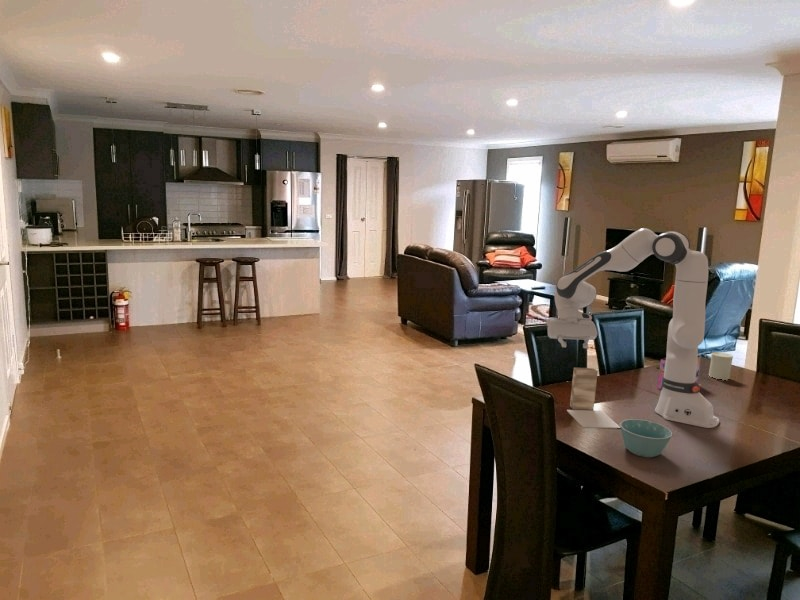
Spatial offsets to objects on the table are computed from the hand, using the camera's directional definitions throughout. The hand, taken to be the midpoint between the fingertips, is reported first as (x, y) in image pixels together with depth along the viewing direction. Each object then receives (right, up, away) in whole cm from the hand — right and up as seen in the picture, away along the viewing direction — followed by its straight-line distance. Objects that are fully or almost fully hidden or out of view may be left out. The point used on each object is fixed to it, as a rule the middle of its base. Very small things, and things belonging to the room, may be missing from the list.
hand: (575, 347), depth 240 cm
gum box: (+54, -20, +27) cm, 64 cm away
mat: (+1, -25, -20) cm, 32 cm away
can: (+83, -19, +45) cm, 97 cm away
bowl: (+8, -31, -47) cm, 57 cm away
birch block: (0, -23, -9) cm, 25 cm away
